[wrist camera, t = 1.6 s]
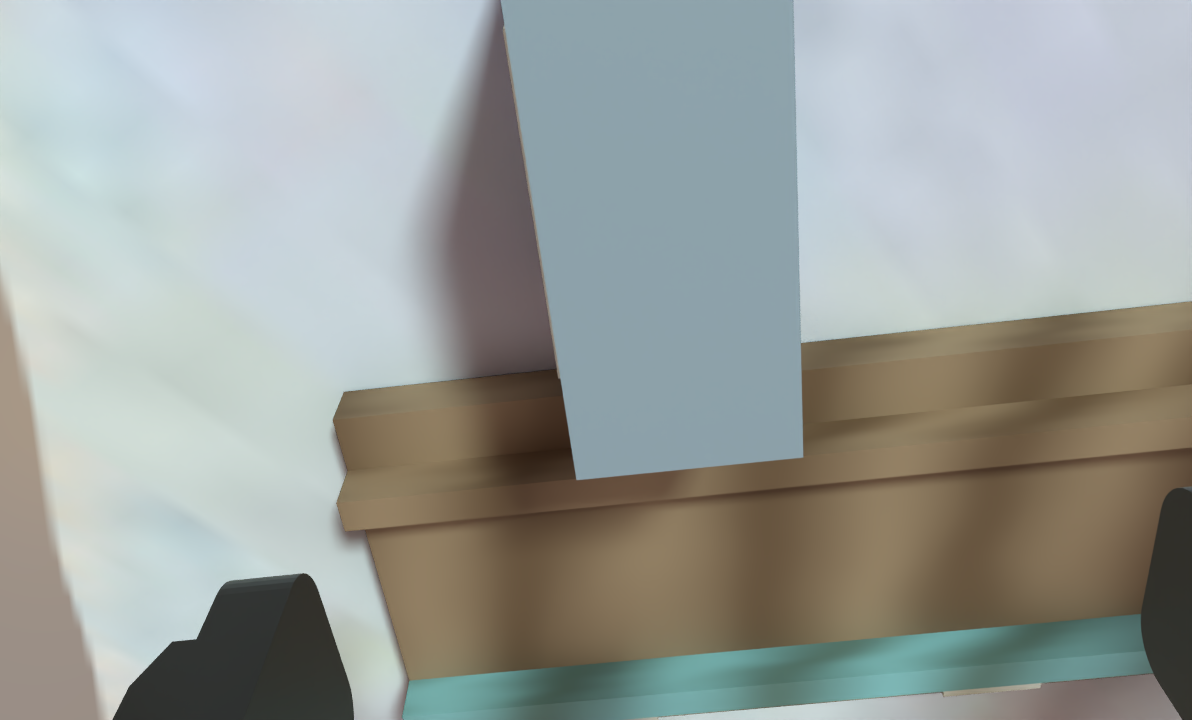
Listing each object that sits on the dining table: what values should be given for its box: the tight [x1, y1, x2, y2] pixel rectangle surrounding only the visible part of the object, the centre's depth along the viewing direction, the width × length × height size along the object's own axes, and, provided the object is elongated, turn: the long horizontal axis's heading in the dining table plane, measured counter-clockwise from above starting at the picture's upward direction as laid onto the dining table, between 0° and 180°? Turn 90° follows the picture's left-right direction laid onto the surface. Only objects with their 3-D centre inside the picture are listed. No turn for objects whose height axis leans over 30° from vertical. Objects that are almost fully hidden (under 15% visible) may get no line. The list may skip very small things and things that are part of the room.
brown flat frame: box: [333, 302, 1192, 720], centre depth 31 cm, size 25×13×3 cm, turn 97°
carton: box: [501, 0, 803, 480], centre depth 22 cm, size 5×10×9 cm, turn 7°
